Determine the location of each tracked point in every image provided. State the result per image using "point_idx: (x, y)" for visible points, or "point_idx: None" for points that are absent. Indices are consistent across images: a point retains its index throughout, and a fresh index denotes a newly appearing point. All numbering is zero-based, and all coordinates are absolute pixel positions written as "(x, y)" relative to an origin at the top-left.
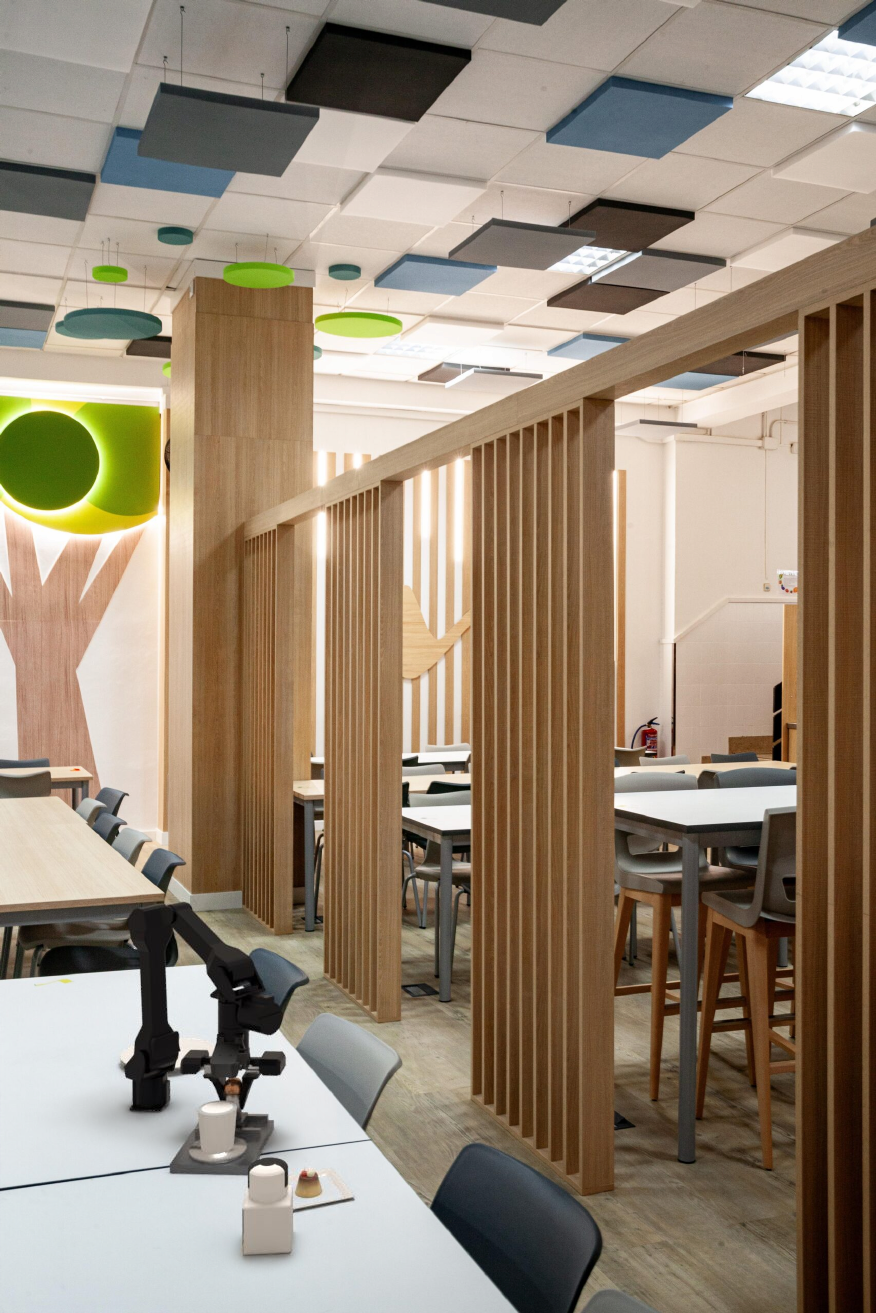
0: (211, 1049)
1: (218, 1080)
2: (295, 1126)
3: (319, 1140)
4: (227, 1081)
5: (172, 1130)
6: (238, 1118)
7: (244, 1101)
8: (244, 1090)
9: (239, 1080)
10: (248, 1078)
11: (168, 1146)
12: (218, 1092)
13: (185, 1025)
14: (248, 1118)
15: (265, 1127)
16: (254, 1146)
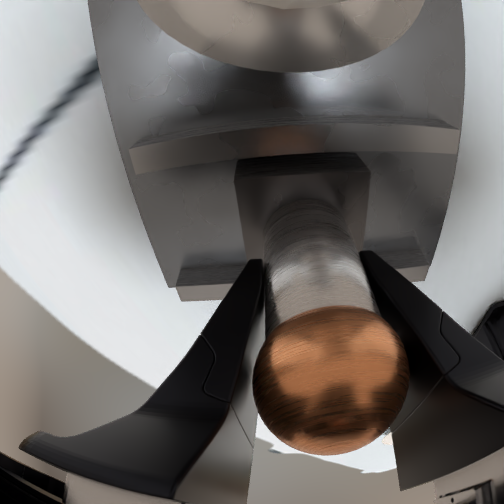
0: (388, 438)
1: (489, 395)
2: (121, 283)
3: (18, 212)
4: (389, 412)
5: (488, 217)
6: (270, 218)
7: (231, 290)
8: (216, 354)
9: (280, 435)
10: (83, 459)
11: (495, 98)
12: (436, 314)
13: None
14: None
15: (164, 230)
16: (119, 36)
